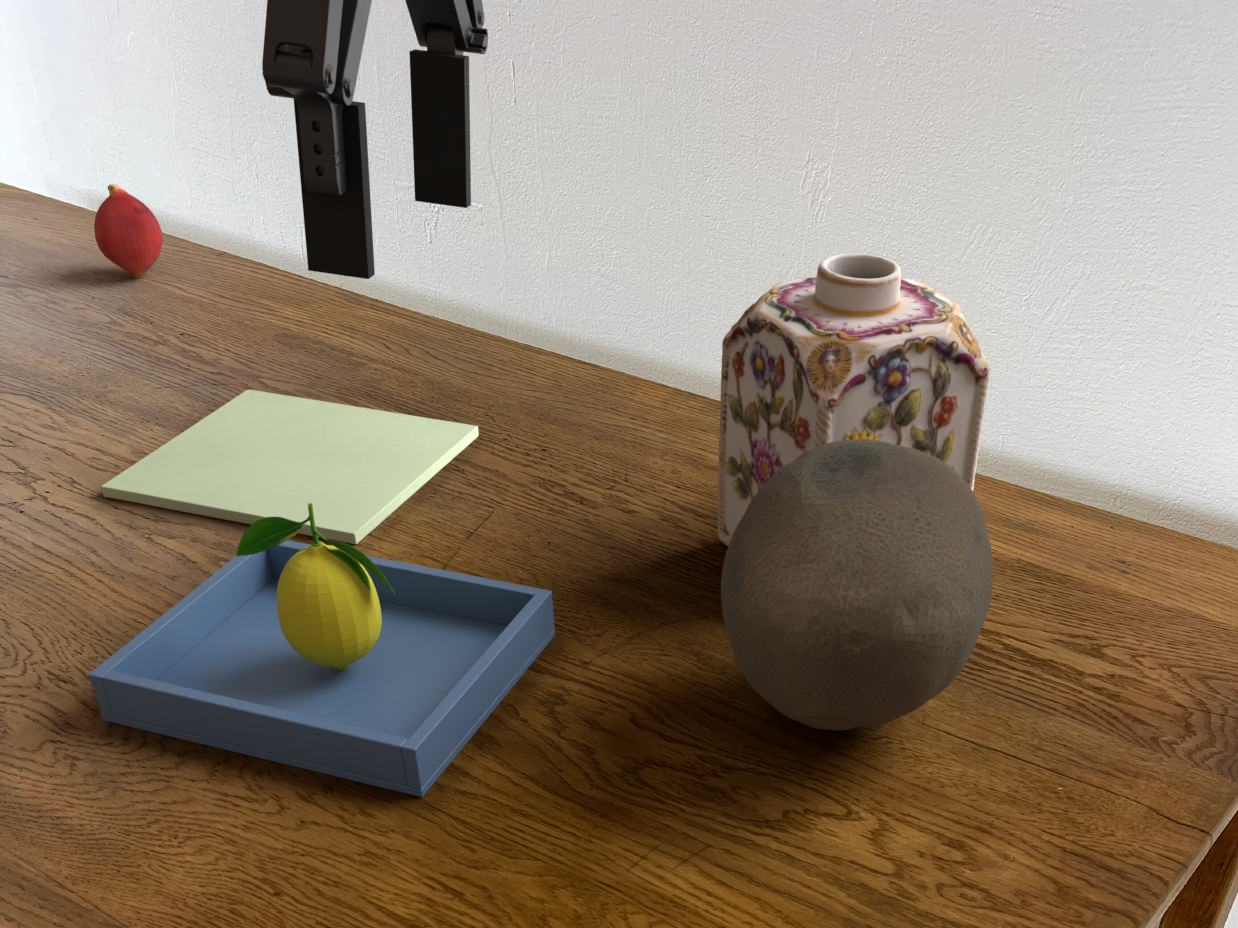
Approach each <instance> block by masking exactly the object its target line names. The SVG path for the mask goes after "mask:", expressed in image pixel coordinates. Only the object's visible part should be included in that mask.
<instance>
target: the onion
mask: <svg viewBox="0 0 1238 928" xmlns="http://www.w3.org/2000/svg"><path fill="white" fill-rule="evenodd" d="M107 190H108V193H109V196H107V197H106V198H105V199H104V200H103V201H102V203H100V205H99V207H98V209H97V211H96V213H95V217H94V224H93V230H94V239H95V241H96V245H97V247H98V249H99V251H100V252H101V253H102V254H103V256H104V257H105V258H106V259H108V260H109V261H110V262H111V263H113V264H114V265H115V266H117V267H118V268H120V269H122V270H124V272H127V273H128V274H129V275H131V276H132V277H134V278H142V277H143V276H144V275H145V274H146V273H147V272H148V271H149V270H150V269H151V268H152V267H153V266H154V265H155V263H156V262H157V260H158V259H159V257H160V255H161V252H162V246H163V242H164V239H163V230H162V229H161V226H160V223H159V220H158V219H157V217H156V216H155V214H154V213H153V211H152V210H151V209H150V208H149V207H148V206H147V205H146V204H145V203H144V202H142V200H140V199H138V198H137V197H135V196H134V195H132V194H130V193H128V192H127V191H126V190H124V189H123V188H121V186H119V185H118V184H115V183H110V184H108V186H107Z"/></svg>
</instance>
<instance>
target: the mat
mask: <svg viewBox="0 0 1238 928" xmlns="http://www.w3.org/2000/svg"><path fill="white" fill-rule="evenodd" d="M479 436H480V432H479V425H476V424H475V425H474V424H468V423H462V422H455V421H451V420H450V421H449V420H442V419H436V418H431V417H430V418H429V417H424V416H418V415H411V414H406V413H405V414H404V413H401V412H400V413H398V412H394V411H388V410H387V411H385V410H380V409H374V408H368V407H361V406H355V405H348V404H343V403H337V402H331V401H323V400H318V399H311V398H306V397H298V396H293V395H287V394H281V393H280V394H279V393H275V392H266V391H262V390H256V389H250V388H249V389H246V390H244V391H243V392H241V393H240V394H238V395H237V396H235V397H234V398H232V399H230V400H229V401H227V402H226V403H224V404H223V405H222V406H220V407H218V408H217V409H216V410H214V411H213V412H211V413H209V414H208V415H206V416H205V417H204V418H202V419H201V420H199V421H197V422H196V423H194V424H193V425H191V426H190V427H188V428H187V429H185V430H184V431H182V432H181V433H179V434H178V435H176V436H175V437H173V438H171V439H170V440H168V441H167V442H165V443H164V444H162V445H161V446H159V447H158V448H156V449H155V450H153V451H152V452H150V453H149V454H147V455H146V456H144V457H142V458H141V459H140V460H138V461H137V462H135V463H133V464H132V465H131V466H130V467H128V468H126V469H124V470H123V471H122V472H120V473H119V474H117V475H116V476H114V477H113V478H111V479H109V480H108V481H107V482H105V483H104V484H102V485H101V486H100V488H101V492H102V495H103V497H104V498H108V499H109V498H110V499H116V500H119V501H124V502H131V503H135V504H142V505H146V506H151V507H157V508H162V509H166V510H167V509H168V510H172V511H177V512H183V513H188V514H193V515H198V516H204V517H209V518H214V519H220V520H225V521H231V522H236V523H241V524H247V525H250V526H251V525H252V524H253V523H255V522H256V521H257V520H259V519H262V518H267V517H282V518H286V519H289V520H293V521H296V522H302V521H304V520H306V519H307V518H308V517H309V510H308V504H309V503H312V506H313V513H314V521H315V527H316V530H317V531H318V532H319V534H321V535H322V536H323V537H325V538H326V539H328V540H332V541H337V542H341V543H345V544H351V545H358V544H359V543H360V542H361V541H362V540H363V539H364V538H366V537H367V536H368V535H369V534H370V533H371V532H373V530H375V529H376V528H377V527H378V526H379V525H381V523H383V522H384V521H385V520H386V519H387V518H388V517H389V516H391V515H392V514H393V513H394V512H395V511H396V510H397V509H398V508H399V507H401V506H402V505H403V504H404V503H405V502H407V501H408V500H409V498H411V497H412V496H413V495H415V493H416V492H417V491H419V490H420V489H421V488H422V487H423V486H424V485H425V484H426V483H427V482H429V481H430V480H431V479H432V478H434V476H436V475H437V474H438V473H439V472H440V471H441V470H442V469H443V468H445V467H446V466H447V465H448V464H450V462H451V461H453V459H454V458H456V457H457V456H458V455H459V454H460V453H462V452H463V450H465V449H466V448H467V447H468V446H469V445H470V444H472V443H473V442H474V441H475V440H476V439H478V437H479ZM297 534H299V535H303V536H304V535H305V536H309V537H313V536H312V531H311V525H310V520H309V521H308V522H306V523H305V524H303V525H302V527H301V529H300V531H299V532H298V533H297ZM317 537H318V539H319V538H320V539H322V538H321V537H320V536H319V535H317Z"/></svg>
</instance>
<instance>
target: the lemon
mask: <svg viewBox="0 0 1238 928" xmlns="http://www.w3.org/2000/svg"><path fill="white" fill-rule="evenodd" d="M308 510H309V517H308V518H307V519H306V520H304V521H302V522H296V521H293V520H289V519H286V518H282V517H267V518H262V519H259V520H257V521H256V522H255V523H253V524H252V525H251V524H250V526H249V527H247V529H246V530H245V531H244V532H243V534H242V536H241V539H240V541H239V543H238V546H237V549H236V550H237V551H236V554H235V556H245V555H253V554H257V553H260V552H263V551H265V550H268V549H270V548H273V547H275V546H277V545H279V544H281V543H283V542H284V541H286V540H290V539H291V538H294V537H295V536H297V534H298V532H299V531H300V529H301V527H302V525H303V524H305V523H306V522H308V521H309V520H310V525H311V531H312V536H311V537H312V539H313V543H311V544H310V546H307V547H305V548H303V549H301V550H300V551H299V552H297V553H296V554H295V555H293V556H292V557H291V558H290V560H289V561H288V562H287V564H286V565H285V567H284V569H283V571H282V573H281V575H280V579H279V582H278V587H277V609H278V617H279V622H280V626H281V629H282V632H283V635H284V636H285V638H286V639H287V641H288V643H289V644H290V645H291V646H292V648H293V649H294V650H295V651H296V652H297V653H298V654H299V655H301V656H302V657H303V658H305V659H307V660H309V661H311V662H314V663H317V664H321V665H325V666H331V667H332V668H334V669H336V670H343V669H346V668H347V667H348V665H349V664H351V663H353V662H355V661H357V660H359V659H361V658H362V657H364V656H365V655H366V654H367V653H369V652H370V651H371V649H372V648H373V646H374V645H375V643H376V641H377V639H378V638H379V634H380V631H381V624H382V616H381V608H380V603H379V598H378V595H377V592H376V588H375V586H374V584H373V581H372V579H371V577H370V576H369V574H368V572H367V571H366V569H368V570H369V571H370V572H371V573H372V574H374V575H375V576H376V577H377V578H378V579H380V580H381V581H382V582H383V583H384V584H385V585H386V586H387V587H388V588H389V589H390V590H391V591H392V592H393V593H394V594H396V593H395V592H394V590H393V589H392V587H391V586H390V585H389V583H388V581H387V580H386V578H385V577H384V575H383V574H382V573H381V572H380V570H379V569H378V568H377V567H376V565H375V564H374V563H373V562H372V561H371V560H370V559H369V558H368V557H367V556H368V555H367V556H366V554H365V553H364V552H362V551H361V550H359V549H358V548H356V547H354V546H352V544H351V545H350V544H349V543H346V542H340V541H335V540H330V539H326V538H325V537H323V536H322V535H321V534H319V532H318V531H317V530H316V527H315V521H314V513H313V506H312V503H309V504H308ZM317 535H319V536H320V537H321V538H320V539H322V540H324V541H325V542H327V543H328V544H326V543H324V542H323V541H320V540H319V537H317ZM363 566H364V567H365V568H366V569H365V568H364V567H363Z"/></svg>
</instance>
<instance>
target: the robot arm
mask: <svg viewBox="0 0 1238 928" xmlns="http://www.w3.org/2000/svg"><path fill="white" fill-rule="evenodd" d="M372 1H373V0H266V11H265V12H266V13H265V23H264V24H265V26H264V35H263V36H264V37H263V50H262V64H261V66H262V68H261V69H262V77H263V79H264V82H265V87H266V91H267V92H268V94H269V95H270V96H272V97H279V98H286V99H288V98H289V99H293V108H294V109H293V110H294V120H295V121H294V122H295V133H296V142H297V154H298V167H299V178H300V179H299V181H300V190H301V202H302V203H301V204H302V214H303V226H304V236H305V237H304V238H305V247H306V249H305V250H306V260H307V271H309V272H315V273H322V274H330V275H336V276H344V277H351V278H357V279H364V280H369V279H371V278H372V277H374V276H375V274H376V272H375V254H374V252H375V251H374V239H373V237H374V236H373V221H372V201H371V185H370V184H371V182H370V166H369V164H370V163H369V150H368V149H369V148H368V133H367V131H368V130H367V114H366V113H367V112H366V111H367V110H366V102H363V101H360V102H359V101H356V100H355V101H354V96H355V91H356V86H357V80H358V75H359V69H360V64H361V60H362V54H363V48H364V43H365V38H366V33H367V28H368V24H369V23H368V22H369V18H370V12H371V6H372ZM404 1H405V4H406V8H407V10H408V14H409V17H410V20H411V24H412V28H413V30H414V34H415V37H416V40H417V43H418V46H420V47H422V48H426V50H423V49H416V48H415V49H412V50H410V51H409V74H410V75H409V76H410V96H411V97H410V103H411V126H412V127H411V129H412V131H411V133H412V155H413V182H414V185H413V186H414V202H419V203H427V204H433V205H440V206H441V205H442V206H450V207H456V208H464V209H467V208H469V207H470V206H471V205H472V179H471V177H472V175H471V174H472V171H471V167H472V166H471V105H470V103H471V102H470V101H471V99H470V97H471V95H470V55H464V53H470V54H477V55H478V54H479V55H485V54H486V53H487V51H488V45H489V32H488V29H487V28H483V27H484V25H485V11H484V5H483V0H404Z"/></svg>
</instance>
